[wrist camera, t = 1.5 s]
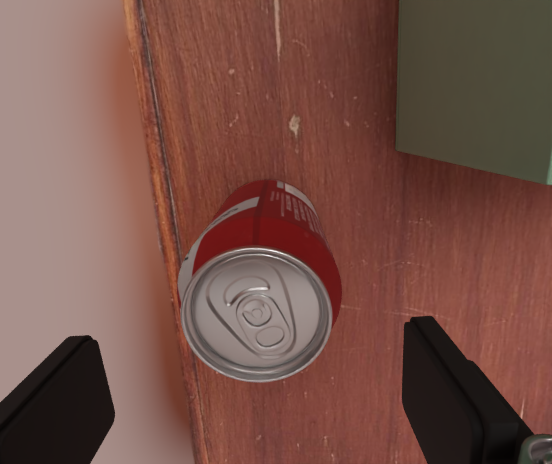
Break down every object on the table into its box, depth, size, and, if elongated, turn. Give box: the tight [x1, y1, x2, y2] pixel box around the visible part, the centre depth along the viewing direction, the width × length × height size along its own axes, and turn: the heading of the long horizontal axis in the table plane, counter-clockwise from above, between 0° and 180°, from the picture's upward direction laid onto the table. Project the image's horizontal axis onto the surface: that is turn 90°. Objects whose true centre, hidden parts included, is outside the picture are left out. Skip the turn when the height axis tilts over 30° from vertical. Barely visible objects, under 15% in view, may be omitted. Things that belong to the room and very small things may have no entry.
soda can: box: [177, 179, 342, 382], centre depth 18 cm, size 7×7×12 cm
